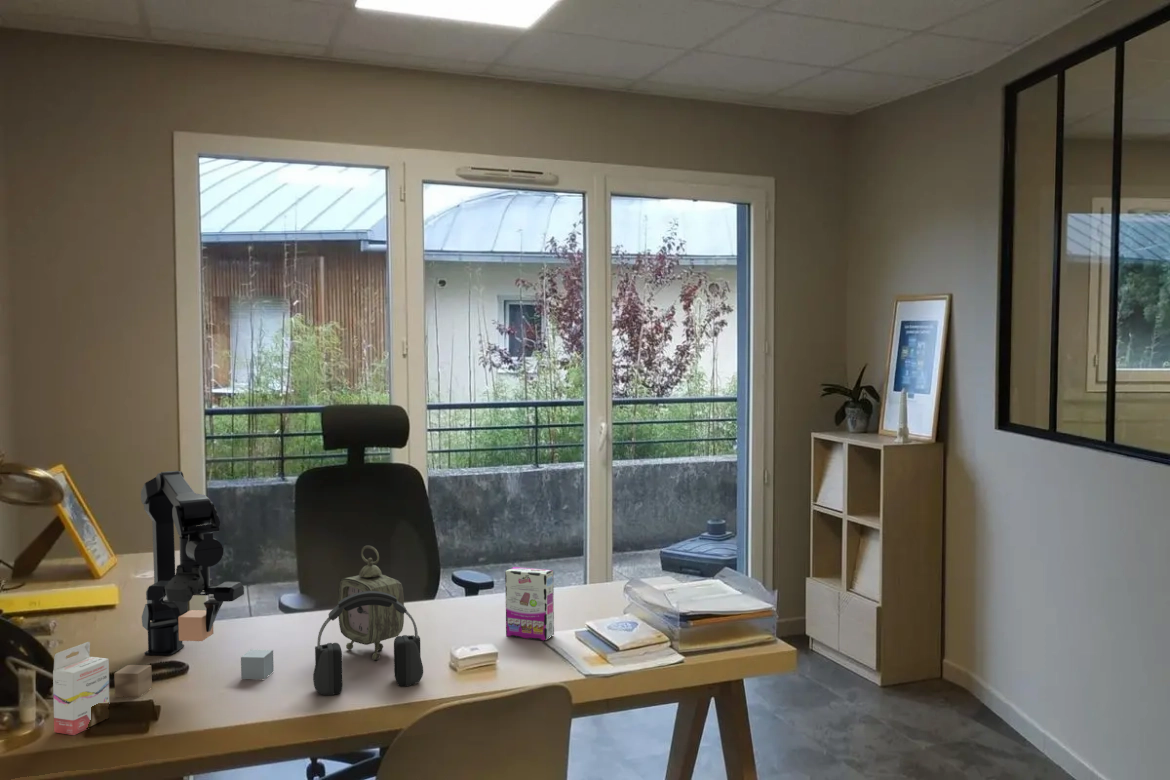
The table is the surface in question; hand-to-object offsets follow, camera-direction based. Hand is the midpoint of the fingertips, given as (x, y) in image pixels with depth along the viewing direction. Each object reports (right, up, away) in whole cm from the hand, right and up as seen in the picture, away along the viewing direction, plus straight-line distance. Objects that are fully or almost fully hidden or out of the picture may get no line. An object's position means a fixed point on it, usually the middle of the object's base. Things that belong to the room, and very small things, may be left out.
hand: (196, 631), depth 193 cm
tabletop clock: (+33, -10, +20) cm, 40 cm away
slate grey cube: (+11, -11, +5) cm, 16 cm away
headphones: (+37, -11, -2) cm, 39 cm away
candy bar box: (+68, -10, +31) cm, 76 cm away
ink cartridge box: (-12, -12, -21) cm, 27 cm away
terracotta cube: (0, -1, 0) cm, 1 cm away
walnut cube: (-11, -12, -5) cm, 17 cm away
